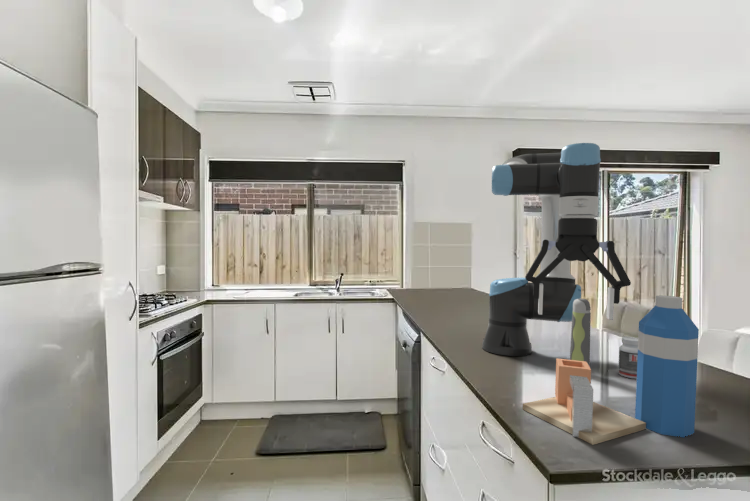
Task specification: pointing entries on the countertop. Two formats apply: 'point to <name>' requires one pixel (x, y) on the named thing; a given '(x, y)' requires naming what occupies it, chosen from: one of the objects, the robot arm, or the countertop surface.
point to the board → (603, 420)
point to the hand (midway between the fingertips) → (573, 316)
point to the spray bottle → (580, 331)
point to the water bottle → (667, 369)
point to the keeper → (581, 405)
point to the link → (568, 380)
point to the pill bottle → (628, 357)
